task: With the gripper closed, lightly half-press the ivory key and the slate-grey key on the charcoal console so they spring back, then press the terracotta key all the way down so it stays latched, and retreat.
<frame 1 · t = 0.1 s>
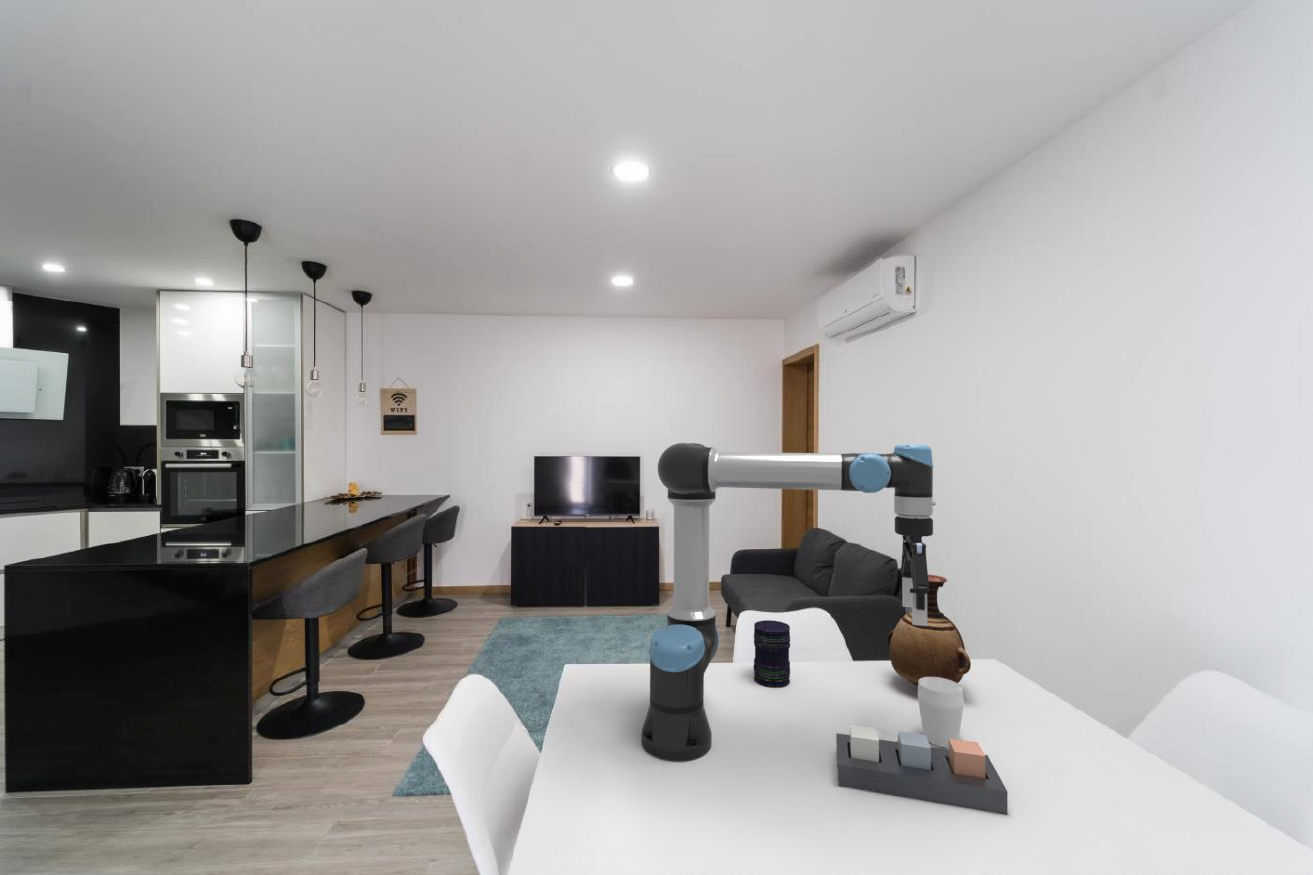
hand: (914, 615, 118), 28 cm above the table, fingers open, 13 cm apart
ivory key: (863, 745, 108), point 5 cm above the table, slide at 0.0 cm
slate key: (913, 752, 106), point 5 cm above the table, slide at 0.0 cm
storage jar: (771, 681, 151), on the table
terracotta key: (966, 760, 103), point 5 cm above the table, slide at 0.0 cm
cup: (940, 741, 121), on the table
console: (914, 780, 106), on the table
vase: (927, 691, 146), on the table
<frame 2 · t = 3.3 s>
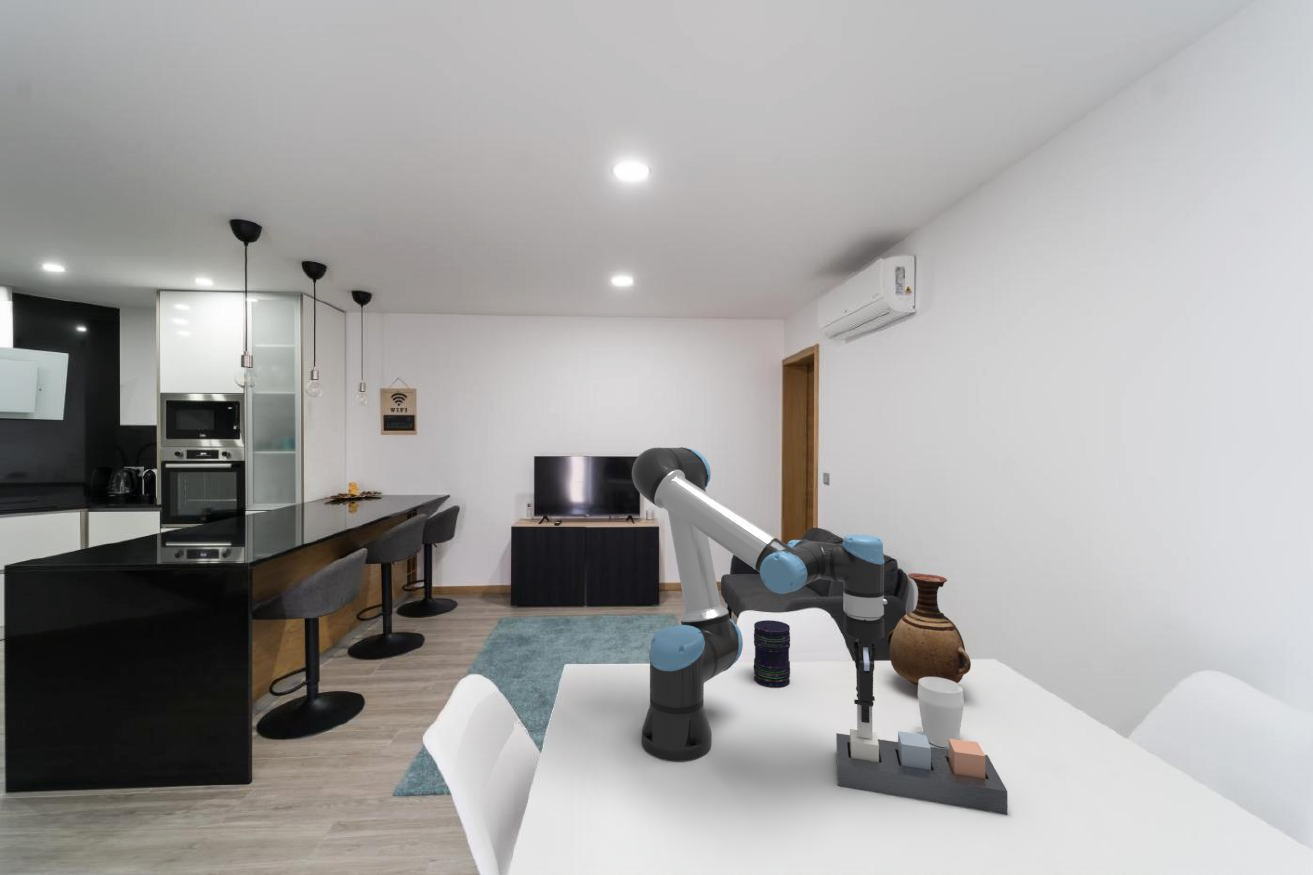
hand: (864, 735, 108), 7 cm above the table, fingers closed
ivory key: (864, 749, 108), point 4 cm above the table, slide at -0.9 cm, touching gripper
everything else where it was.
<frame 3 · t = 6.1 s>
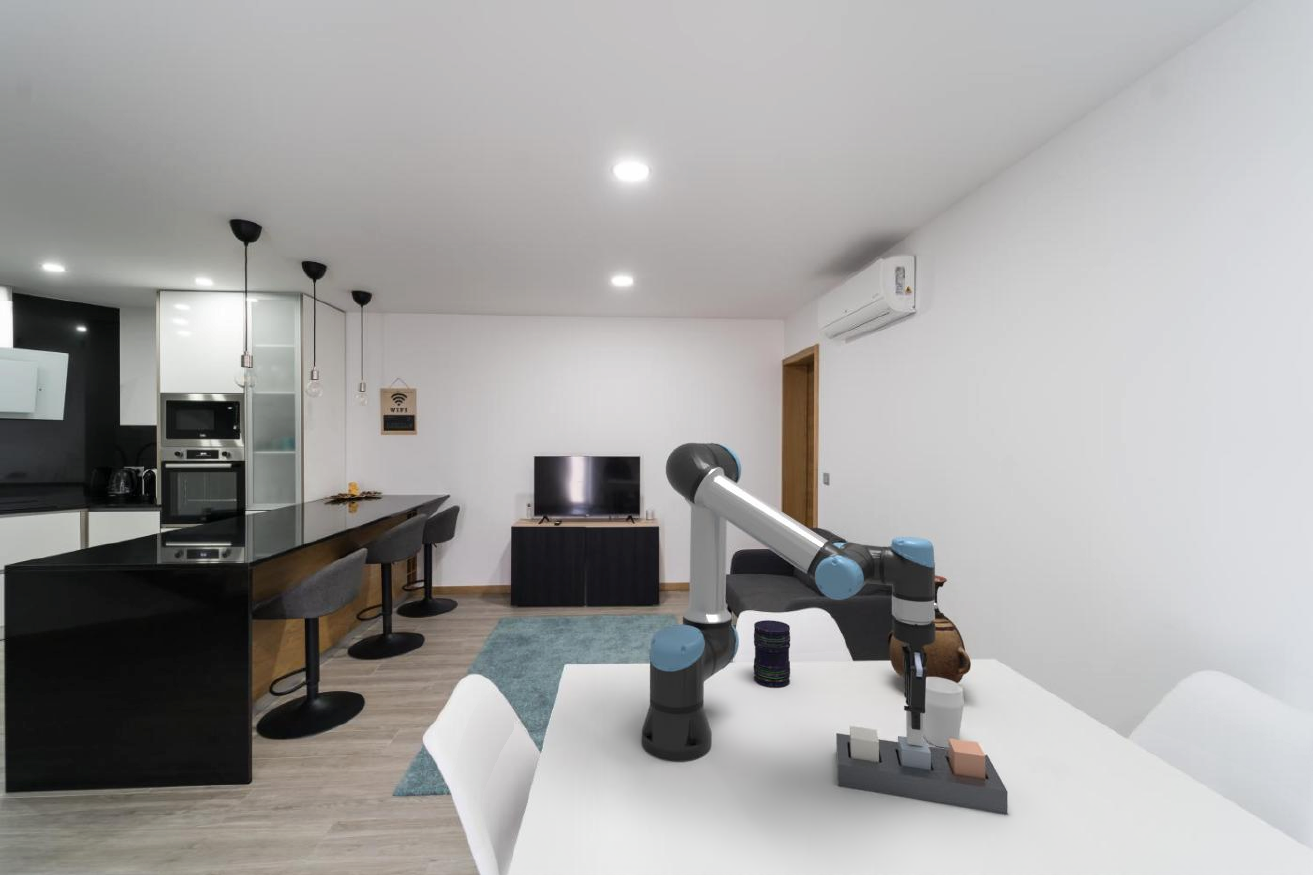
hand: (914, 743, 106), 7 cm above the table, fingers closed
ivory key: (863, 746, 108), point 5 cm above the table, slide at -0.3 cm
slate key: (914, 757, 106), point 4 cm above the table, slide at -0.9 cm, touching gripper
everything else where it was.
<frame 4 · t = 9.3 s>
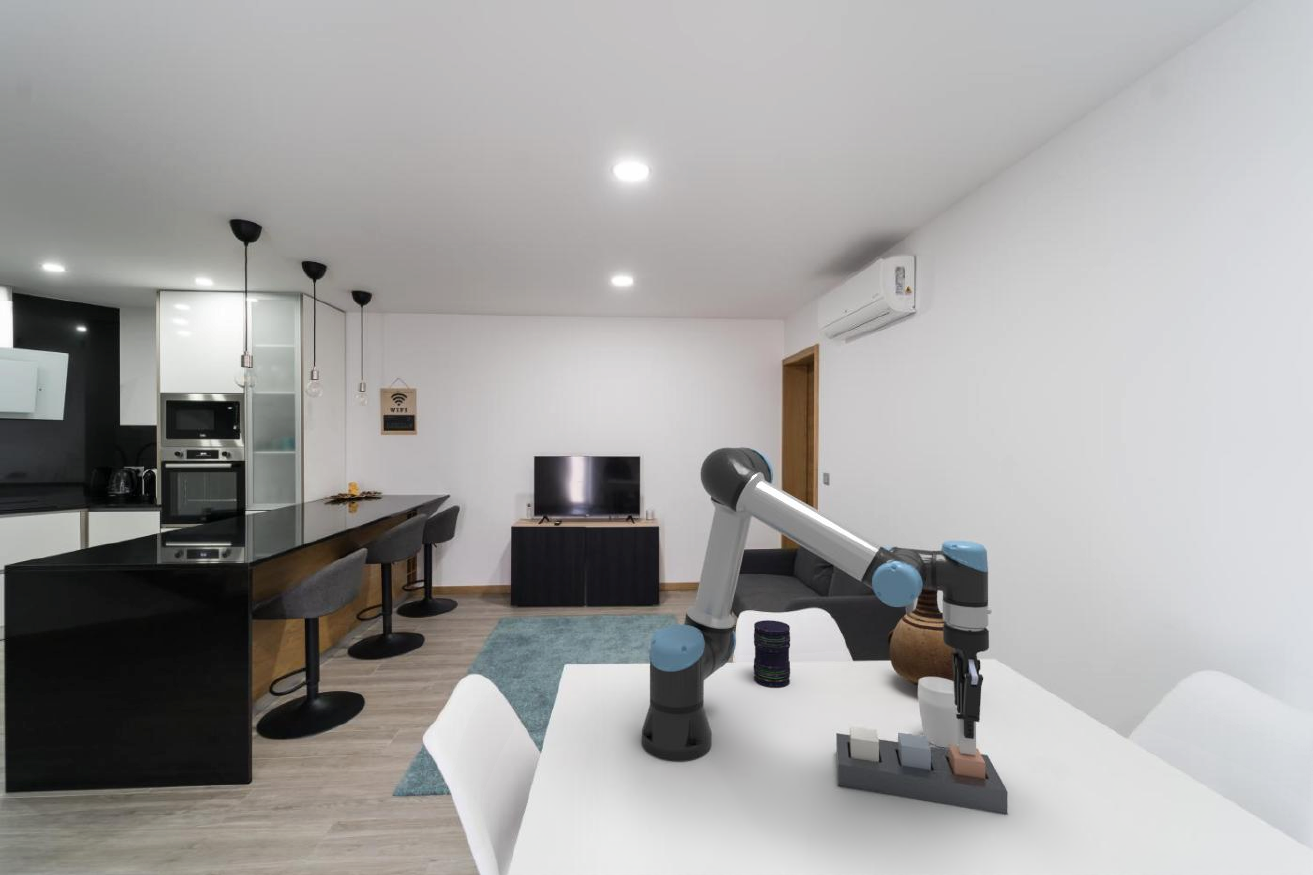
hand: (967, 752, 103), 7 cm above the table, fingers closed
slate key: (913, 754, 106), point 5 cm above the table, slide at -0.3 cm
terracotta key: (966, 766, 103), point 4 cm above the table, slide at -1.2 cm, touching gripper
everything else where it was.
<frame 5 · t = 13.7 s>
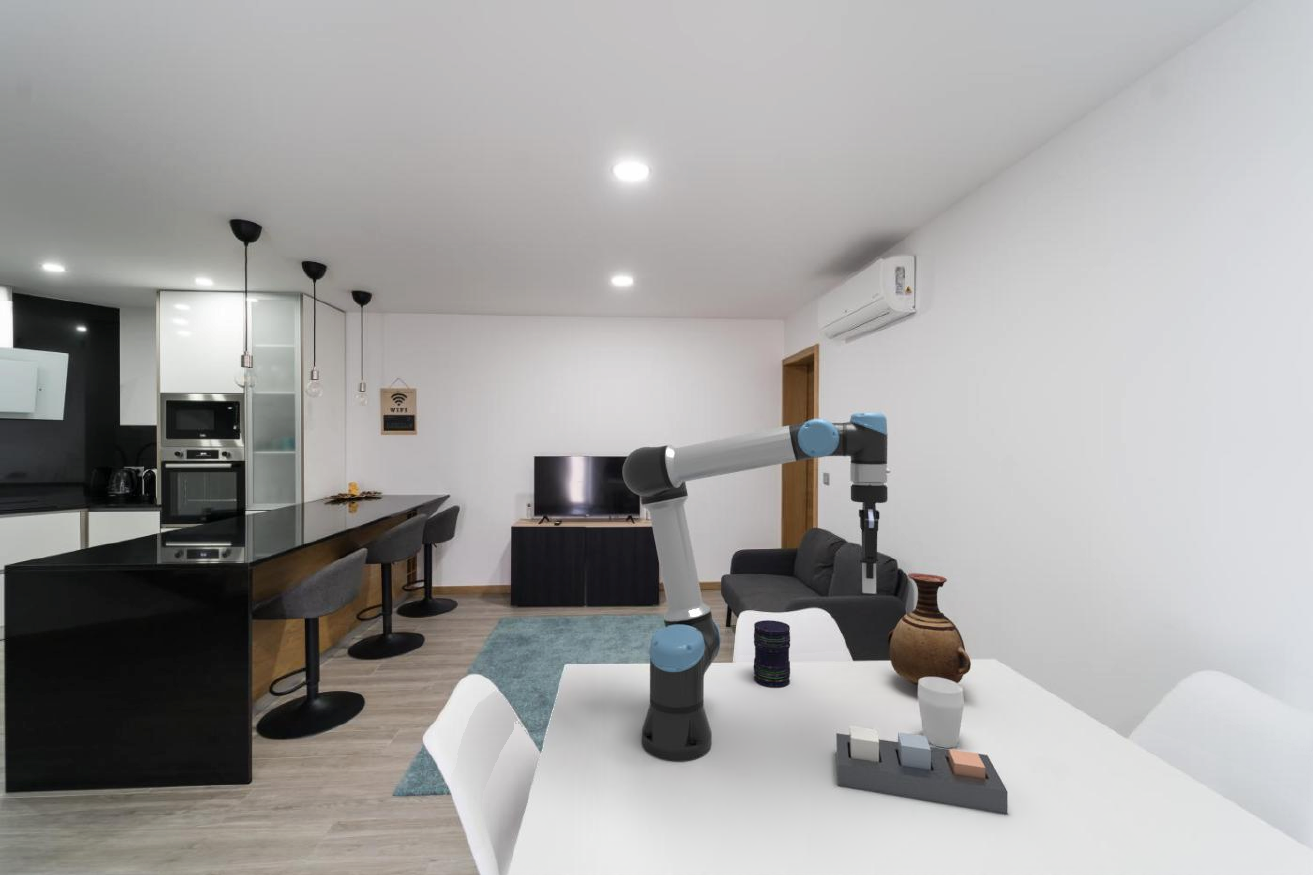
hand: (869, 592, 120), 32 cm above the table, fingers closed
terracotta key: (966, 771, 103), point 3 cm above the table, slide at -2.1 cm
everything else where it was.
at the end: terracotta key slide at -2.1 cm; ivory key slide at -0.3 cm; slate key slide at -0.3 cm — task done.
